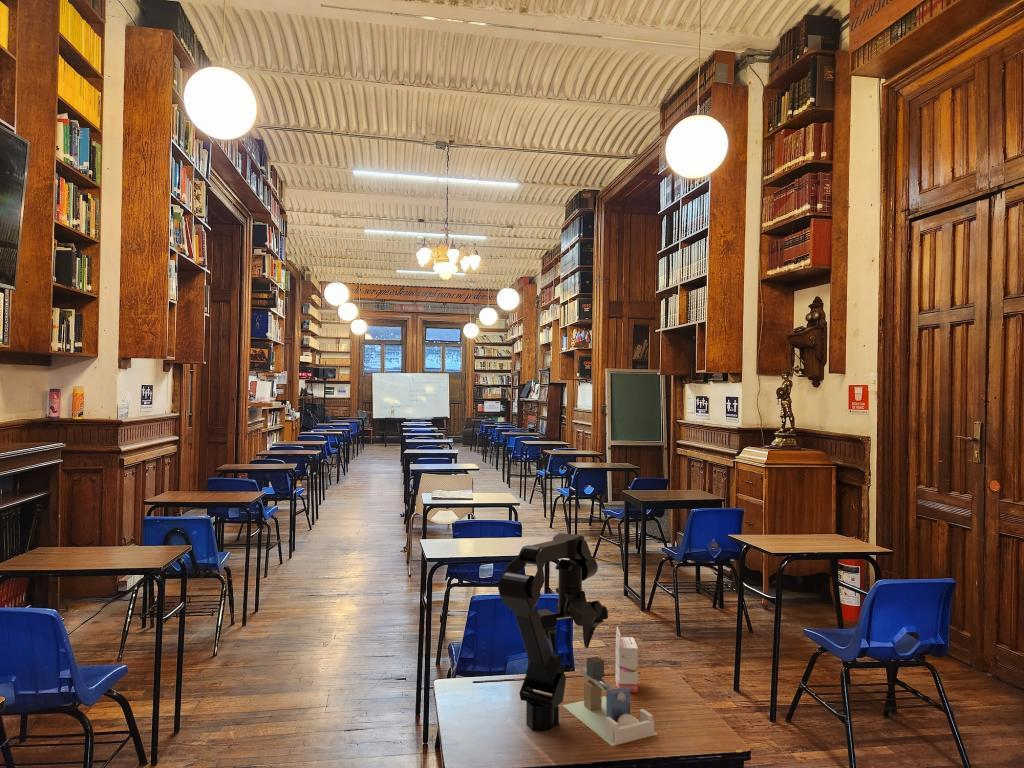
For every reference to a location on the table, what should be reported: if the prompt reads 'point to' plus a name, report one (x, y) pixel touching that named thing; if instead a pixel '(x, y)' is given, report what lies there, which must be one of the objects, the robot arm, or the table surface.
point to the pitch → (593, 710)
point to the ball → (625, 720)
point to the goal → (630, 729)
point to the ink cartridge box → (626, 663)
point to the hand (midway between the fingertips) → (570, 650)
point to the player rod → (607, 689)
